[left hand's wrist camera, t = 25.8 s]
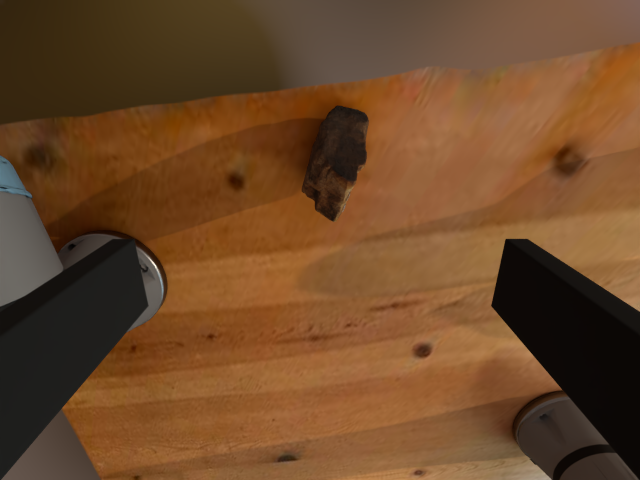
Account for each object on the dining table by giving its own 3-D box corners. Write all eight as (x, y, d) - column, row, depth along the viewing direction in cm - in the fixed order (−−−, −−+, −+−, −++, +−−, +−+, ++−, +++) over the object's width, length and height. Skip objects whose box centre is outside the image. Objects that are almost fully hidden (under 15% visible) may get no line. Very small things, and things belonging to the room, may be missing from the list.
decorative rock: (337, 204, 46) (341, 232, 36) (295, 188, 46) (288, 211, 36) (375, 117, 42) (392, 122, 32) (330, 98, 42) (333, 96, 32)
